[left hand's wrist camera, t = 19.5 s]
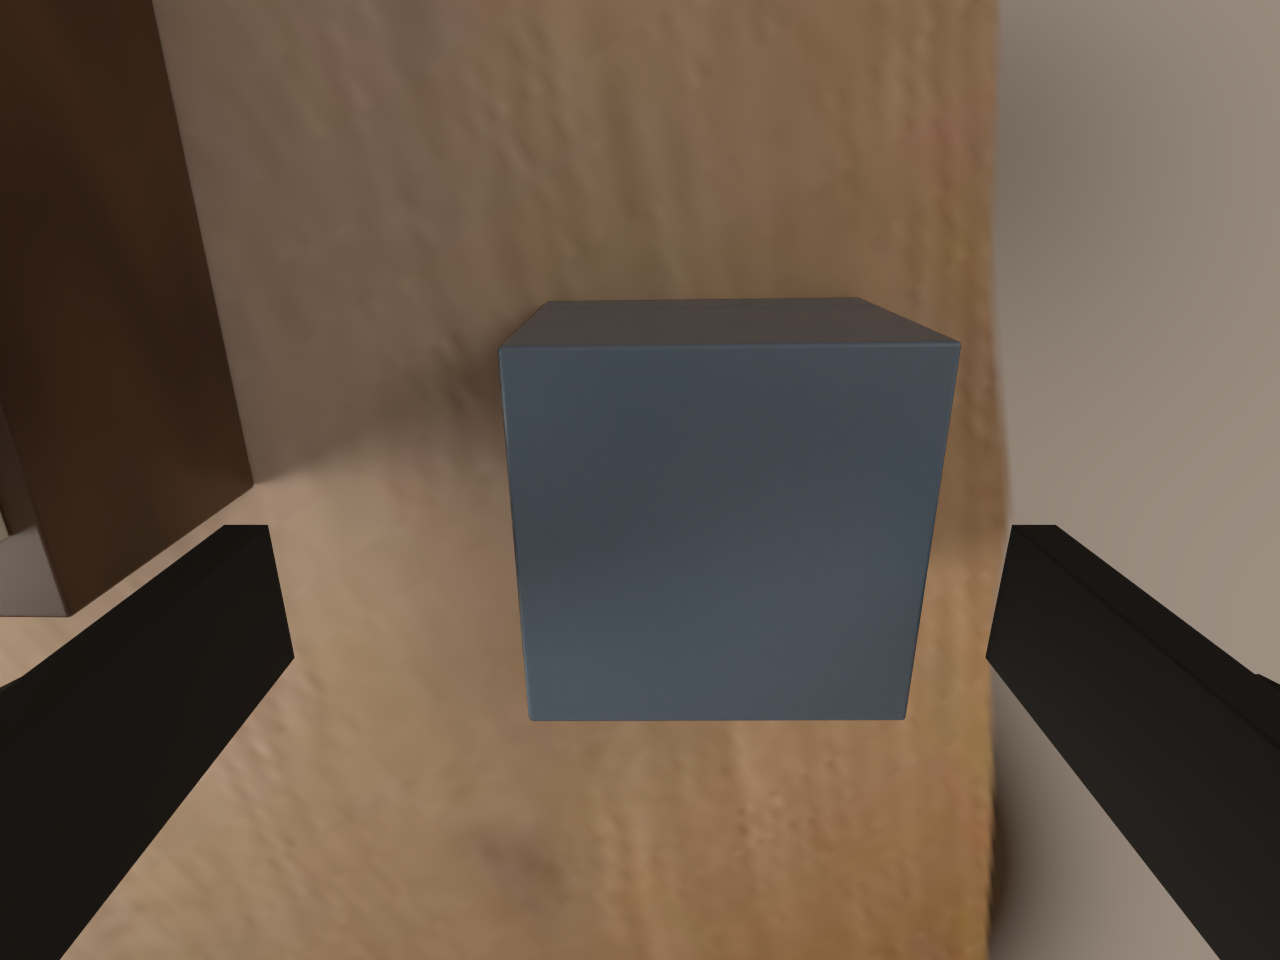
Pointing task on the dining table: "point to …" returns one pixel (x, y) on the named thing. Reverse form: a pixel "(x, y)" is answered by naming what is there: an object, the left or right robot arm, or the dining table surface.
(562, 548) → the slate blue cube
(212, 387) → the stand
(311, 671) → the dining table surface
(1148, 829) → the left robot arm
